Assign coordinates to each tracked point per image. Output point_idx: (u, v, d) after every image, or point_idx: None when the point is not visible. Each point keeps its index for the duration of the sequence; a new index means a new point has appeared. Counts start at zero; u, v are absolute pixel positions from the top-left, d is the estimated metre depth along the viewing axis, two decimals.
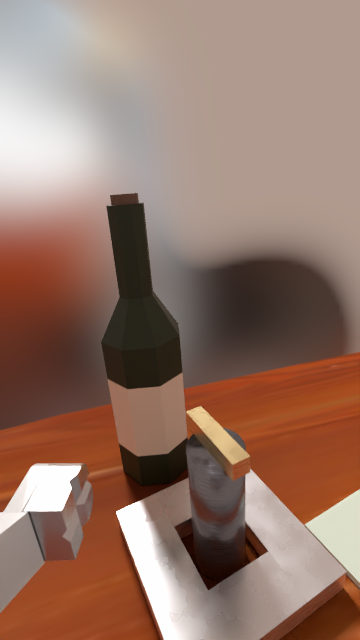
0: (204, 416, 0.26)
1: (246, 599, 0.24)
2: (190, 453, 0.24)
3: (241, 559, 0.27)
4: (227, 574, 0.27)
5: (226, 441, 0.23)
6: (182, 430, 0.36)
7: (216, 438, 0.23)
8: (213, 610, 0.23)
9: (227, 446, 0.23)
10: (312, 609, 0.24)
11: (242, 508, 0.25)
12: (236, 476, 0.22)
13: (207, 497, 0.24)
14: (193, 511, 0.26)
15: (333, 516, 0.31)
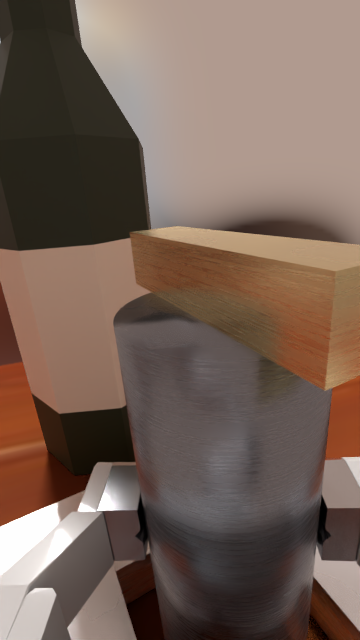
0: (184, 230, 0.08)
1: None
2: (126, 323, 0.06)
3: None
4: None
5: (270, 242, 0.05)
6: None
7: (225, 243, 0.06)
8: None
9: (279, 247, 0.05)
10: None
11: (315, 531, 0.07)
12: (344, 365, 0.04)
13: (191, 491, 0.06)
14: (150, 539, 0.08)
15: None
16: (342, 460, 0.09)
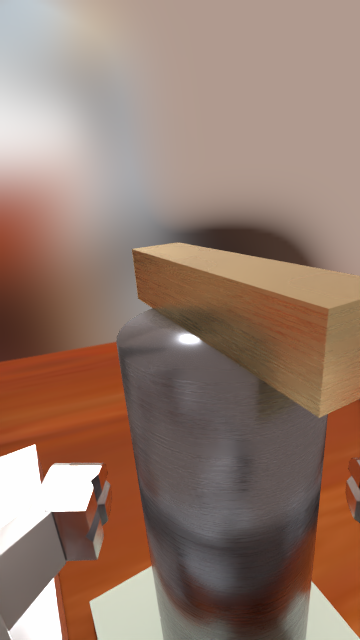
0: (185, 249, 0.08)
1: None
2: (129, 342, 0.07)
3: None
4: None
5: (268, 268, 0.05)
6: None
7: (225, 267, 0.06)
8: None
9: (276, 275, 0.05)
10: None
11: (313, 543, 0.07)
12: (337, 393, 0.04)
13: (192, 505, 0.06)
14: (151, 550, 0.08)
15: None
16: None
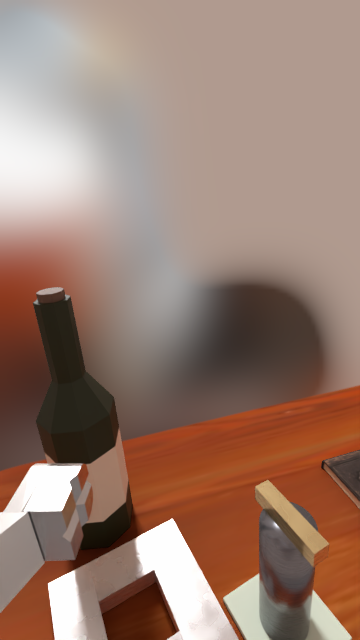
0: (274, 493, 0.27)
1: None
2: (265, 532, 0.26)
3: (308, 625, 0.29)
4: None
5: (302, 525, 0.25)
6: (119, 497, 0.38)
7: (292, 521, 0.25)
8: None
9: (304, 531, 0.24)
10: None
11: (313, 582, 0.27)
12: (316, 563, 0.23)
13: (283, 575, 0.25)
14: (264, 583, 0.27)
15: (251, 588, 0.33)
16: None
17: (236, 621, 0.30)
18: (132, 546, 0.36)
